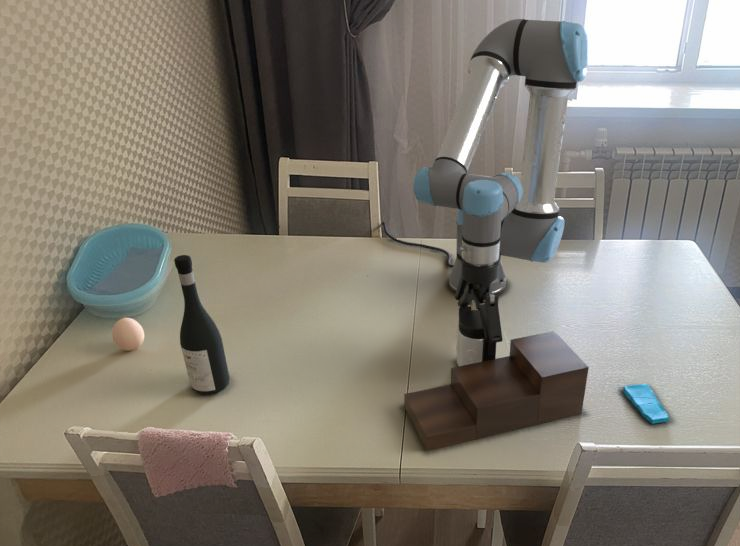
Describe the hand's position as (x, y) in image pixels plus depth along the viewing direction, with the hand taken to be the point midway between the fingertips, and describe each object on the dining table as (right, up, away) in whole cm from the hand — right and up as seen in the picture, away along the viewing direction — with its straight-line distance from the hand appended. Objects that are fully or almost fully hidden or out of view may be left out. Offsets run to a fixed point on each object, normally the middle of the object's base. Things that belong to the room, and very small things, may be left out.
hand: (475, 348), depth 148 cm
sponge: (+34, -12, -9) cm, 37 cm away
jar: (0, -4, +3) cm, 5 cm away
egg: (-79, 0, +9) cm, 79 cm away
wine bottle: (-57, -8, -3) cm, 57 cm away
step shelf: (+3, -13, -11) cm, 17 cm away
